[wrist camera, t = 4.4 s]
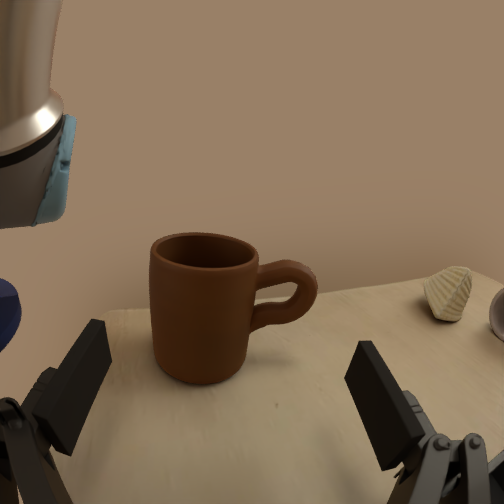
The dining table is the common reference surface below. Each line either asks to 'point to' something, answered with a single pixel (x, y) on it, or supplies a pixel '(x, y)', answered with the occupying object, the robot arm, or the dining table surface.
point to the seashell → (448, 292)
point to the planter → (497, 314)
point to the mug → (215, 302)
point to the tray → (497, 479)
